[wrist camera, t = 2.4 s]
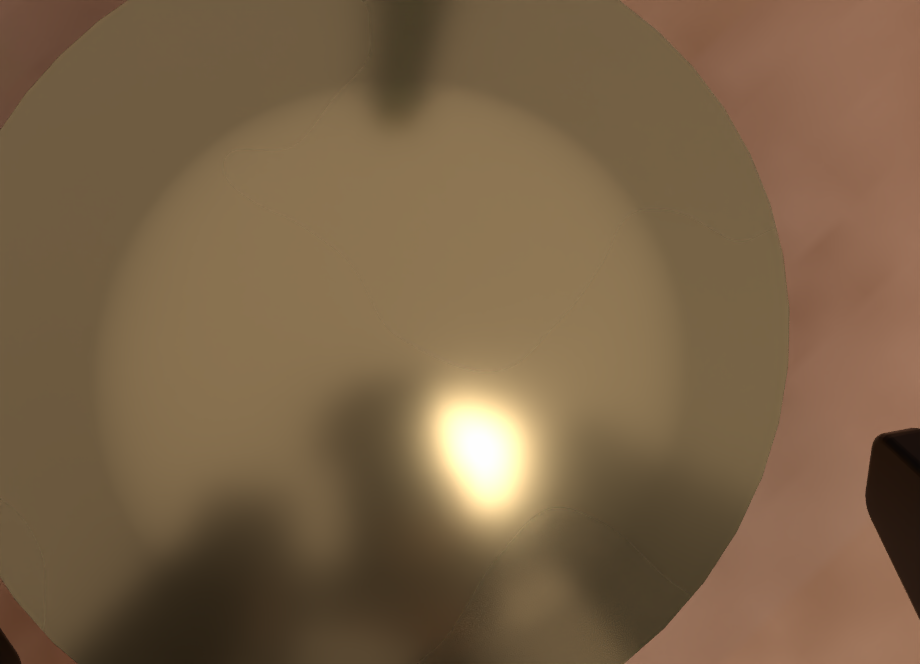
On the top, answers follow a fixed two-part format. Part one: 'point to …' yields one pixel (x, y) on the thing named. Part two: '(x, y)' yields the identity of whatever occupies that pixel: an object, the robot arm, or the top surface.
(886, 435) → the robot arm
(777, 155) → the top surface
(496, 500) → the gold cylinder peg
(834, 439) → the top surface
